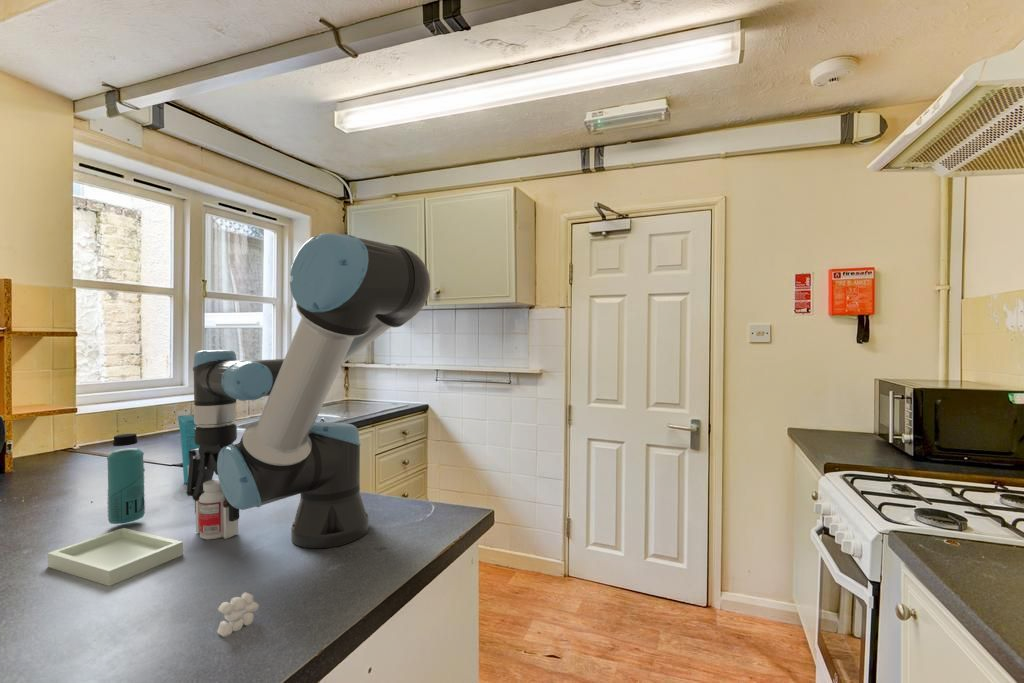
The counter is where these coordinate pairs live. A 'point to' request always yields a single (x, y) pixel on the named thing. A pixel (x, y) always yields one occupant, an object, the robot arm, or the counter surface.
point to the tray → (115, 555)
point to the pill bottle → (211, 510)
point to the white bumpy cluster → (237, 613)
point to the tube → (187, 441)
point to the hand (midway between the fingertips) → (217, 532)
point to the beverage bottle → (125, 481)
